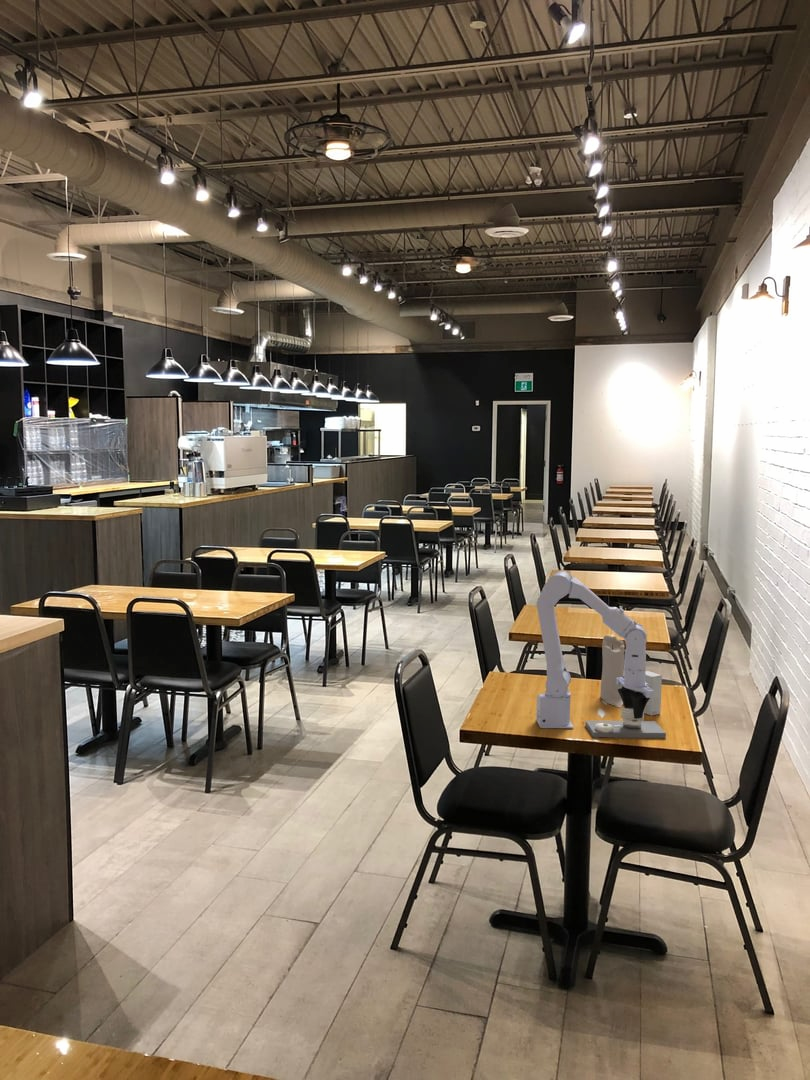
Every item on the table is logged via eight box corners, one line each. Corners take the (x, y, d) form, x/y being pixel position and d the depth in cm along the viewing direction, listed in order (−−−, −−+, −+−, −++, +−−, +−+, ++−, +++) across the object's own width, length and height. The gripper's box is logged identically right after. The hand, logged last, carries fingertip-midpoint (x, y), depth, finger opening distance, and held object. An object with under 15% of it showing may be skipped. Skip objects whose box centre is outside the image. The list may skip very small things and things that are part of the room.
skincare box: (661, 714, 255) (662, 675, 254) (650, 716, 253) (652, 676, 252) (646, 708, 260) (647, 670, 259) (635, 710, 258) (637, 672, 257)
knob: (644, 724, 239) (645, 705, 239) (641, 729, 235) (642, 710, 234) (622, 721, 242) (623, 702, 241) (619, 726, 237) (620, 707, 237)
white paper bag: (613, 708, 260) (616, 644, 258) (596, 695, 274) (599, 634, 271) (636, 707, 261) (638, 643, 259) (618, 694, 275) (620, 633, 273)
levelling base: (593, 737, 233) (593, 726, 233) (585, 725, 243) (585, 714, 243) (665, 738, 234) (666, 726, 233) (654, 726, 244) (655, 715, 243)
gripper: (663, 673, 231) (661, 721, 233) (631, 661, 245) (629, 706, 246) (641, 676, 229) (640, 724, 230) (610, 663, 242) (609, 709, 244)
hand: (633, 715), depth 238 cm, fingers closed on knob, 3 cm apart
